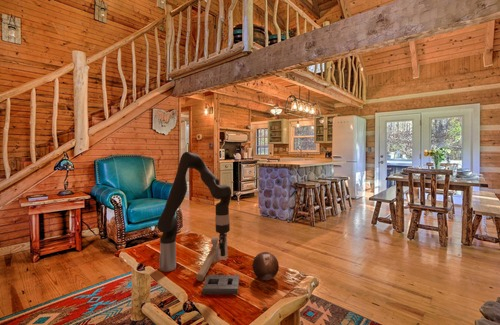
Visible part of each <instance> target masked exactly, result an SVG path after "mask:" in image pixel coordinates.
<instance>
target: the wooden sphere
mask: <svg viewBox="0 0 500 325" xmlns="http://www.w3.org/2000/svg"><path fill="white" fill-rule="evenodd" d="M279 267H280V264H279V261H278V259H277V257H276V256H275V255H274V254H273V253H271V252H268V251H262V252H260V253H258V254H256V256H255V257H254V258H253V261H252V266H251V268H252V272H253V273H254V275H255V276H256V277H257V278H258V279H260V280H262V281H269V280H272V279H274V278H275V277H276V276H277V274H278V272H279V269H280V268H279Z"/></svg>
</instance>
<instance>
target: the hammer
mask: <svg viewBox="0 0 500 325" xmlns="http://www.w3.org/2000/svg"><path fill="white" fill-rule="evenodd" d="M210 243H211V244H212V246H211V248H210V251H209V253H208V255H207V256H206V258H205V260H204V261H203V263H202V265H201V267H200V269H199V270H198V272H197V273H196V276H195V278H196V280H197V281H199V282H203V281H204V280H205V278H206V277H207V275H208V274H207V273H208V271H209V269H210V268H211V264H212V263H214V262H215V263H218V262H219V236H212V237H211V241H210Z"/></svg>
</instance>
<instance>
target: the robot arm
mask: <svg viewBox="0 0 500 325" xmlns="http://www.w3.org/2000/svg"><path fill="white" fill-rule="evenodd" d="M188 169H195V170H196V171H197V172H198V173H199V176H200V180H201V181H202V182H203V184H205V186H207V187H208V190H209V192H210V194H211V196H212V198H213V199H216V200H220V201H219V202H217V203H216V204H215V206H214V207H215V220H214V221H215V232H216V233H217V234H219V235H218V245H219V249H220V250H221V256H225V244H226V242H227V243H228V240H227V239H228V238H227V237H228V233H229V232H230V230H231V225H230V211H229V209H230V208H229V207H230V202H231V198H232V188H231V187H230V186H229V184H221V185H220V180H219V178H218V177H217V176H216V175H215V174H214V173H213V172H212V171H211V170H210V169H209V167H208V166H207V164H206V163H205V161H204V160H203V159H202V158H201V156H200V155H199V154H198V153H195V152H189V151H185V152H183V153H182V154H181V157H180V158H179V164H178V167H177V170H176V174H175V177H174V181H173V183H172V185H171V188H170V191H169V193H168V196H167V200H166V203H165V206H164V208H163V210H162V213H161V215H160V217H159V218H158V220H157V229H158V231H159V232H161V233H162V234H161V236H160V238H159V242H160V243H159V244H160V246H159V248H160V249H159V250H160V251H159V252H160V254H159V255H158V258H159V259H158V261H159V266H158V267H159V271H161V272H166V273H167V272H171V271H174V270H176V269H177V242H176V241H177V240H176V239H177V234H178V220H177V217H176V216H175V214H176V213H177V210H178V209H179V207H180V206H181V205H182V203H183V202H184V200H185V197H186V194H187V192H188V184H187V179H186V177H187V172H188ZM224 242H225V243H224ZM221 246H223V247H221Z"/></svg>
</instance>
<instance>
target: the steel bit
mask: <svg viewBox="0 0 500 325" xmlns="http://www.w3.org/2000/svg"><path fill="white" fill-rule="evenodd" d="M224 243H225V242H224ZM221 247H223V246H221ZM228 257H229V255H228V241H227V242H226V244H225V256H221V250H220V249H219V260H220V261H221V260H223V261H225V260H226V261H227V259H228ZM219 260H218V261H219Z"/></svg>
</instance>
